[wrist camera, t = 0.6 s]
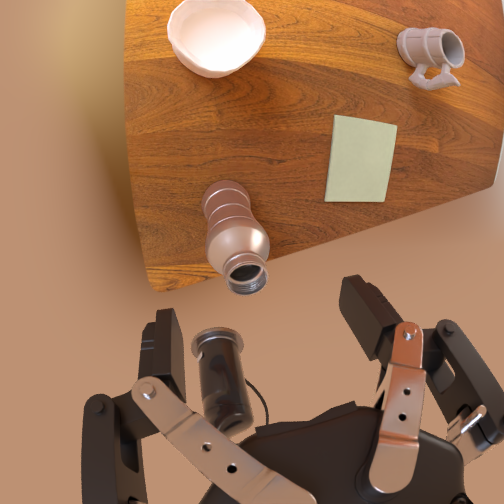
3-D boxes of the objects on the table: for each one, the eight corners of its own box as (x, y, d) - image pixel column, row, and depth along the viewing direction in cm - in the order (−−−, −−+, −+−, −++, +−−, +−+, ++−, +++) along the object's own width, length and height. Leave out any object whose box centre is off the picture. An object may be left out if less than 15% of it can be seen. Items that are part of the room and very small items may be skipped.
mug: (429, 41, 31) (479, 42, 21) (419, 95, 37) (470, 106, 27) (398, 20, 29) (449, 14, 19) (387, 78, 35) (440, 83, 25)
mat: (382, 201, 46) (384, 202, 46) (324, 200, 44) (325, 201, 44) (395, 125, 39) (397, 125, 39) (334, 114, 37) (335, 114, 37)
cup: (240, 84, 33) (256, 80, 25) (166, 74, 30) (156, 67, 22) (255, 23, 28) (275, 3, 20) (181, 11, 25) (178, -13, 17)
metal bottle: (246, 215, 43) (283, 303, 27) (202, 218, 42) (211, 311, 25) (247, 174, 40) (289, 244, 23) (199, 177, 39) (205, 251, 22)
